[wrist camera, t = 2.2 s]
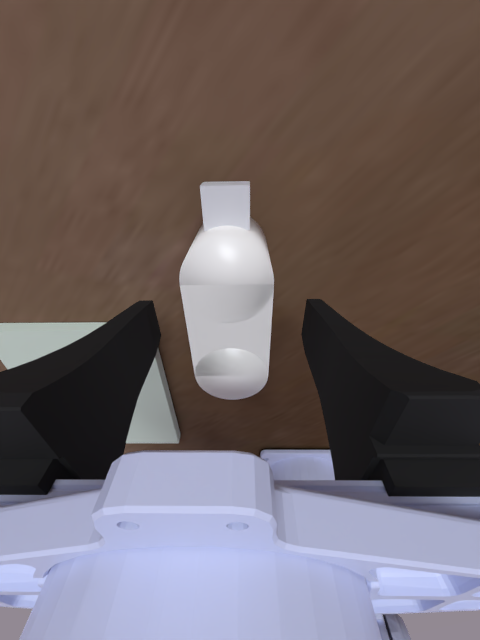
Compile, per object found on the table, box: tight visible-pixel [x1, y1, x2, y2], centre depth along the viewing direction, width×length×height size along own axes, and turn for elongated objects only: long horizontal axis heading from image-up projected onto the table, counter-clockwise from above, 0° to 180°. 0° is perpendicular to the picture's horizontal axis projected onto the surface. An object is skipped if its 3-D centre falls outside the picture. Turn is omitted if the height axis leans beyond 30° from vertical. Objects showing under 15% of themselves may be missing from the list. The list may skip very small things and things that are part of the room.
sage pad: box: [0, 322, 181, 443], centre depth 19 cm, size 12×10×1 cm
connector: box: [179, 181, 274, 400], centre depth 13 cm, size 10×4×4 cm, turn 1°
